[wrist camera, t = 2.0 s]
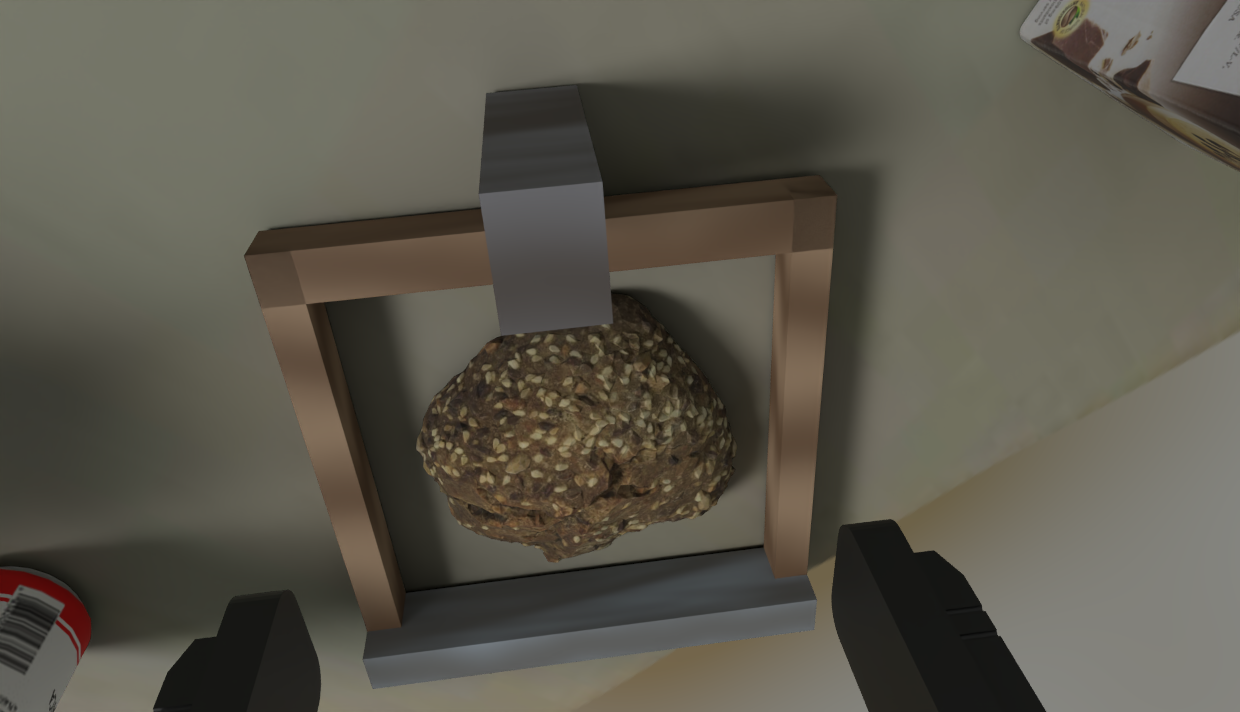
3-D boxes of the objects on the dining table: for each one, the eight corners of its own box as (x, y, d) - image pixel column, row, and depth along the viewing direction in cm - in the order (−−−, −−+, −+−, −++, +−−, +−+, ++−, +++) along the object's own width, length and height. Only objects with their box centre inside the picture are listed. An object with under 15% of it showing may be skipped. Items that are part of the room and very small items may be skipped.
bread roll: (649, 251, 32) (670, 315, 28) (758, 470, 39) (788, 549, 35) (360, 387, 34) (339, 466, 30) (510, 575, 41) (510, 662, 37)
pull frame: (223, 117, 28) (115, 229, 20) (827, 61, 29) (940, 147, 21) (382, 626, 41) (354, 810, 33) (792, 573, 42) (855, 738, 34)
